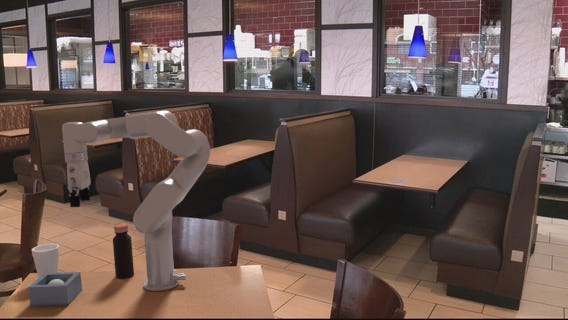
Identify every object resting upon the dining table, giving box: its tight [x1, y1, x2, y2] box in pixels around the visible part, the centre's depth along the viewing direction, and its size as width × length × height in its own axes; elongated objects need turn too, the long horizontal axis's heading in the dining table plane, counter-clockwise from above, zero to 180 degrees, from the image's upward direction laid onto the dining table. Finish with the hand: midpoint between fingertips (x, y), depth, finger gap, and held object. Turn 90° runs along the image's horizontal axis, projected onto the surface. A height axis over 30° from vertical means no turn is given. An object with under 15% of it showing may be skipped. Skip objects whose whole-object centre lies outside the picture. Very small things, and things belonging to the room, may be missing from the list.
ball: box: [48, 279, 64, 285], centre depth 177 cm, size 6×6×6 cm
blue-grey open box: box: [27, 271, 83, 308], centre depth 177 cm, size 13×13×7 cm
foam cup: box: [31, 243, 61, 278], centre depth 193 cm, size 10×9×13 cm
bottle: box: [112, 223, 135, 280], centre depth 195 cm, size 7×7×20 cm
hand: (80, 203), depth 186 cm, fingers open, 9 cm apart
